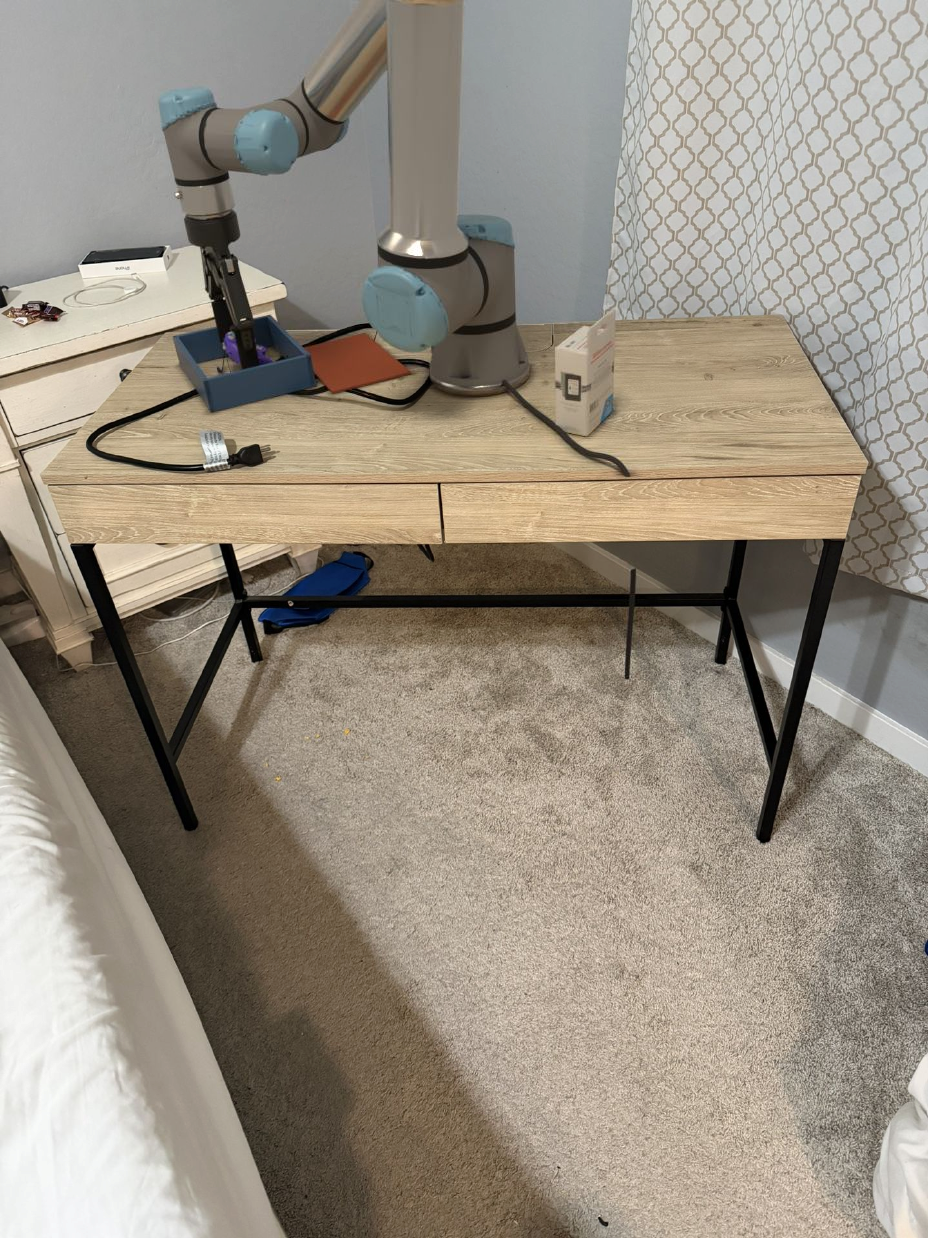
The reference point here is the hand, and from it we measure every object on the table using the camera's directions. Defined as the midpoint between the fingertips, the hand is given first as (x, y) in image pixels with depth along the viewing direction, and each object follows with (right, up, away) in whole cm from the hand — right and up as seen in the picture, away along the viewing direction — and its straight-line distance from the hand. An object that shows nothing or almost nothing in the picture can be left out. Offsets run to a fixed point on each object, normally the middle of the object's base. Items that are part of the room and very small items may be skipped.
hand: (239, 354), depth 145 cm
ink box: (+52, -15, -19) cm, 57 cm away
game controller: (+1, -3, +2) cm, 4 cm away
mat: (+17, 0, +3) cm, 17 cm away
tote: (+1, -3, +2) cm, 3 cm away
